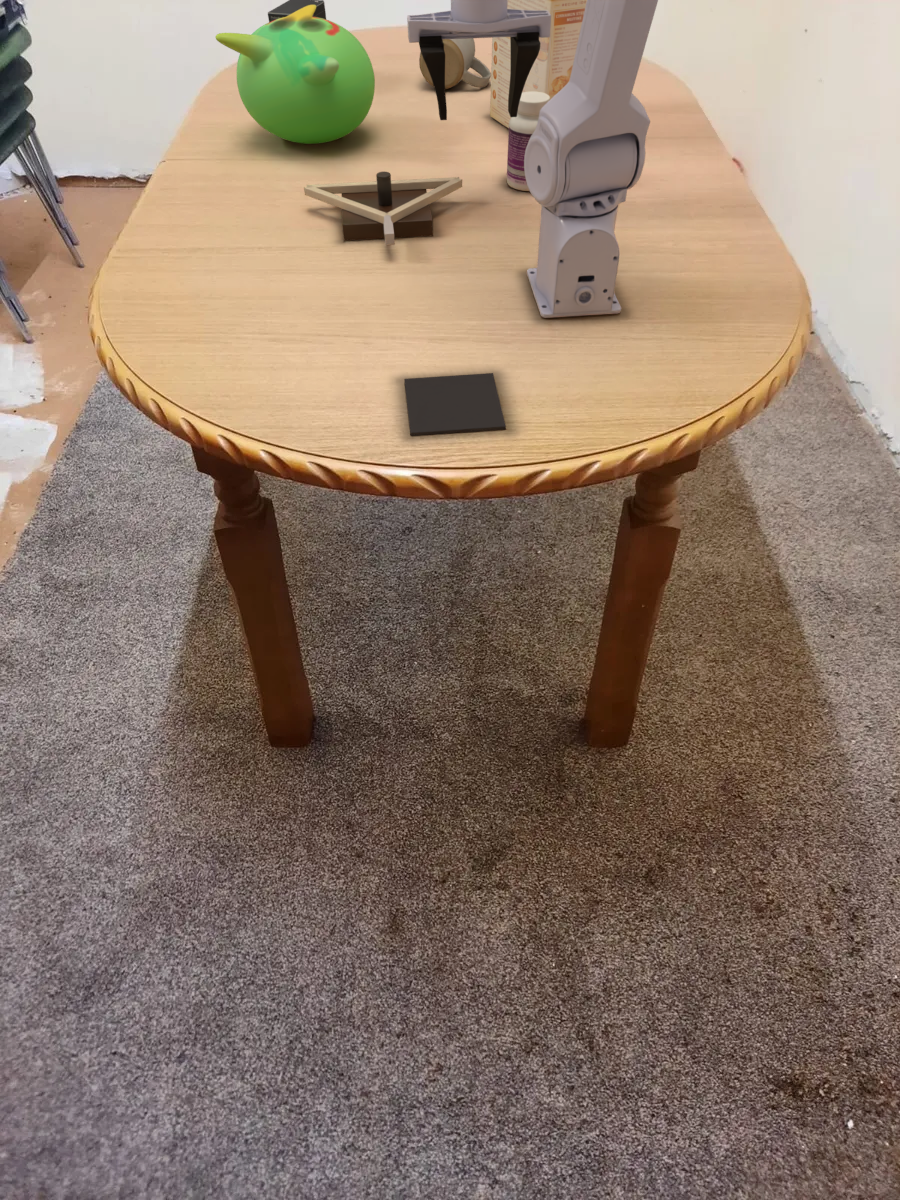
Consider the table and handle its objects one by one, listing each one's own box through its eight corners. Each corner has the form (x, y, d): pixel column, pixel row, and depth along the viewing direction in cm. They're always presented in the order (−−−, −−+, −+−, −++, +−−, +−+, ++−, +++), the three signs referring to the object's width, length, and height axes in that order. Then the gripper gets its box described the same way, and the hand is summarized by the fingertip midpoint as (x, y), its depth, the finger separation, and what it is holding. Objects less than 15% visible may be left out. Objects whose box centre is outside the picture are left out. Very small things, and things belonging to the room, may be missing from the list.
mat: (505, 429, 69) (505, 426, 69) (410, 435, 68) (410, 432, 68) (492, 375, 74) (493, 372, 74) (404, 381, 74) (404, 378, 73)
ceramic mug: (417, 90, 126) (416, 31, 120) (427, 73, 131) (427, 15, 125) (486, 95, 124) (488, 35, 119) (493, 77, 130) (496, 19, 124)
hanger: (302, 249, 87) (300, 238, 86) (304, 192, 97) (303, 181, 96) (476, 240, 88) (476, 228, 87) (461, 184, 98) (461, 173, 97)
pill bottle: (546, 193, 100) (553, 105, 93) (503, 190, 101) (506, 102, 94) (551, 176, 104) (558, 90, 96) (510, 173, 104) (513, 87, 97)
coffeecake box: (585, 143, 111) (604, -37, 96) (539, 152, 109) (552, -30, 94) (531, 108, 120) (541, -61, 105) (487, 116, 118) (491, -55, 103)
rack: (432, 236, 93) (431, 190, 89) (344, 240, 92) (339, 194, 89) (425, 199, 100) (424, 154, 96) (342, 203, 99) (338, 159, 95)
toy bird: (393, 124, 116) (386, -2, 105) (352, 170, 106) (339, 35, 95) (275, 113, 120) (257, -10, 109) (224, 156, 109) (198, 25, 98)
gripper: (546, -50, 83) (537, 100, 93) (403, -46, 82) (409, 105, 93) (558, -35, 78) (547, 122, 89) (407, -29, 78) (413, 128, 88)
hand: (477, 115), depth 90 cm, fingers open, 7 cm apart
